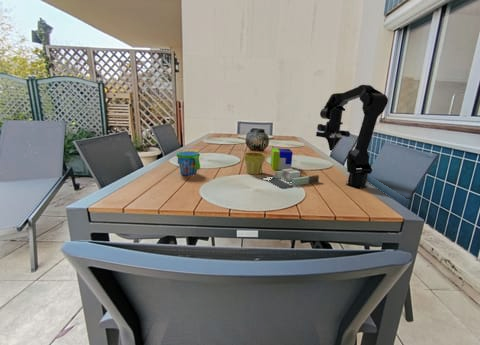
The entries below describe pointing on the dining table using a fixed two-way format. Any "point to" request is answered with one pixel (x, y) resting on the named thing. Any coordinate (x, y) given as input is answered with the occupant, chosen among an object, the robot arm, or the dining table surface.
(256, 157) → the plant pot
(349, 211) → the dining table surface
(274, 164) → the puzzle toy
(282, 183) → the trap pit mat
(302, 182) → the lane rails
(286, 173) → the grey block
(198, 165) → the snack cup
